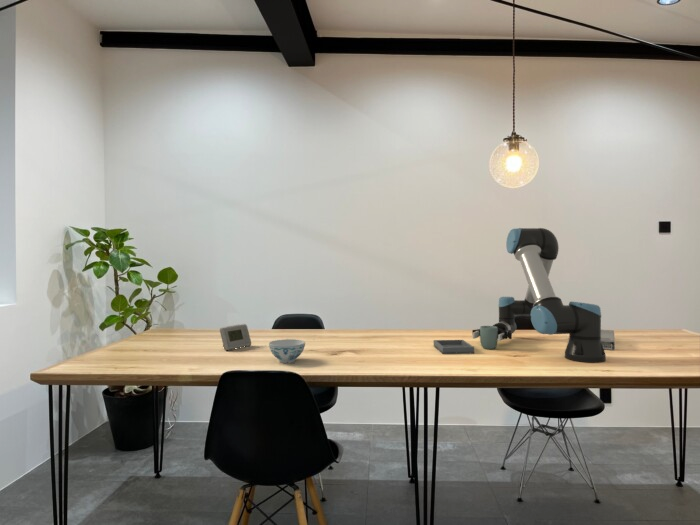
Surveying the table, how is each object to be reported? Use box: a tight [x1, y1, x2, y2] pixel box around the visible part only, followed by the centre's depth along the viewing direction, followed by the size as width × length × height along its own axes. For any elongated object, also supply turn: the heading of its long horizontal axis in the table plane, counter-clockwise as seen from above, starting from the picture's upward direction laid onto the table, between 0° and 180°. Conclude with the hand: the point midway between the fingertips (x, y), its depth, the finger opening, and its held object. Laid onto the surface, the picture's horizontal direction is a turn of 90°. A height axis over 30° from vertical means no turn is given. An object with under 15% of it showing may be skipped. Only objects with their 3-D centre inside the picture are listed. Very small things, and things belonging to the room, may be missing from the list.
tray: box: [433, 339, 475, 355], centre depth 216 cm, size 18×14×3 cm
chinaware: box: [268, 338, 306, 364], centre depth 196 cm, size 15×15×8 cm
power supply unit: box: [601, 329, 616, 352], centre depth 229 cm, size 19×33×5 cm, turn 152°
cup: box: [479, 325, 499, 350], centre depth 217 cm, size 8×8×10 cm
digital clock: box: [219, 323, 252, 351], centre depth 224 cm, size 16×9×11 cm, turn 133°
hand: (486, 336), depth 214 cm, fingers open, 11 cm apart
